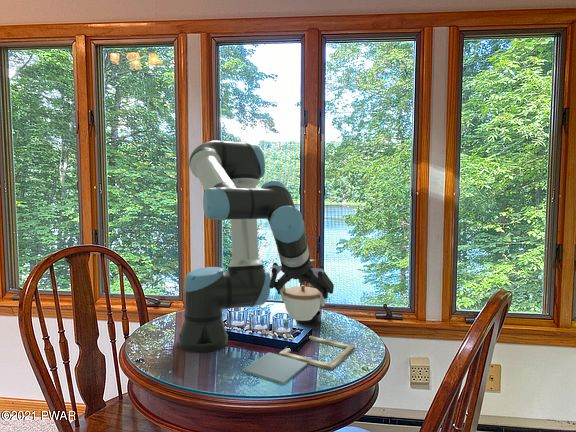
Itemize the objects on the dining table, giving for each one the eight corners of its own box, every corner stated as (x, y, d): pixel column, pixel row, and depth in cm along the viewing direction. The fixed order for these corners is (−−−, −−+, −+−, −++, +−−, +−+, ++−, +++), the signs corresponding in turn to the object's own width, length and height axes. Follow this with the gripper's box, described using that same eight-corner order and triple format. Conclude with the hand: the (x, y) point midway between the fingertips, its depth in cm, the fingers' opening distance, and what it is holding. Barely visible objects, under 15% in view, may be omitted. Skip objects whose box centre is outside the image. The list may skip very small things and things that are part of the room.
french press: (319, 327, 144) (321, 263, 142) (293, 325, 146) (295, 261, 144) (322, 316, 156) (324, 257, 154) (298, 314, 157) (299, 255, 155)
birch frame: (279, 355, 120) (279, 352, 120) (305, 336, 135) (305, 334, 135) (331, 370, 112) (331, 367, 112) (354, 348, 126) (354, 346, 126)
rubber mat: (242, 371, 110) (242, 369, 110) (268, 354, 121) (268, 352, 121) (283, 384, 103) (283, 382, 103) (307, 365, 114) (307, 362, 114)
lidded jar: (318, 325, 110) (320, 291, 110) (280, 321, 112) (281, 288, 111) (322, 313, 121) (323, 282, 120) (286, 310, 123) (287, 279, 122)
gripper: (247, 265, 103) (263, 307, 119) (338, 272, 98) (342, 316, 114) (254, 241, 108) (268, 285, 124) (341, 247, 102) (345, 292, 119)
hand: (304, 300), depth 119 cm, fingers closed on lidded jar, 11 cm apart
